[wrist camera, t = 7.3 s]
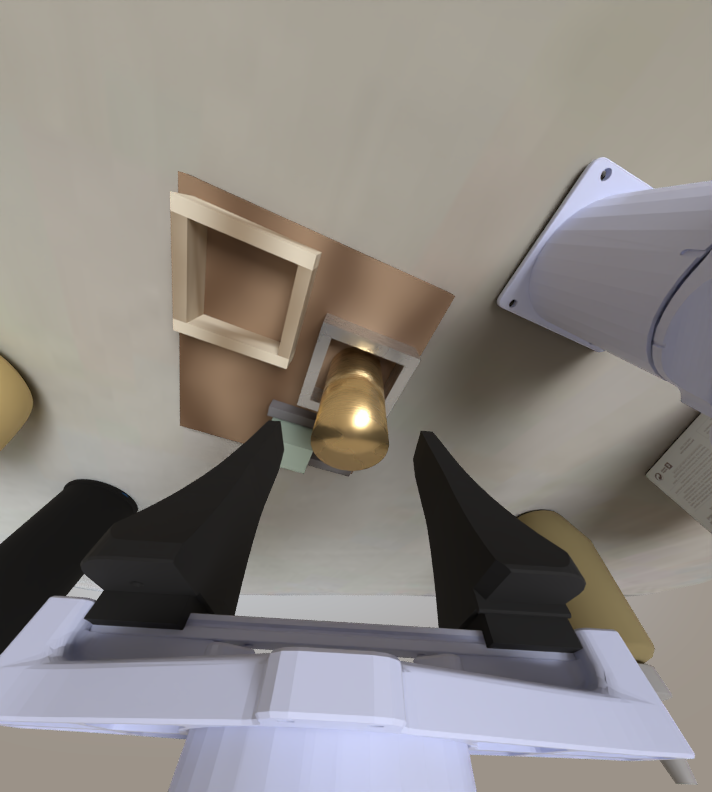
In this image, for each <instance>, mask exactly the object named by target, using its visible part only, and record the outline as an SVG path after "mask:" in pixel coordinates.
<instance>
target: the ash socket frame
mask: <svg viewBox="0 0 712 792" xmlns="http://www.w3.org/2000/svg"><path fill="white" fill-rule="evenodd" d="M170 213H171V258H172V302H173V330H174V331H177V332H180V333H183V334H186V335H189V336H192V337H195V338H198V339H200V340H203V341H206V342H209V343H212V344H215V345H218V346H221V347H224V348H227V349H229V350H232V351H235V352H238V353H241V354H244V355H247V356H250V357H253V358H255V359H258V360H261V361H264V362H267V363H270V364H273V365H276V366H279V367H282V368H284V369H287V367H288V366H289V364H290V362H291V360H292V359H293V357H294V353H295V349H296V346H297V342H298V338H299V335H300V331H301V327H302V324H303V320H304V316H305V313H306V309H307V305H308V302H309V298H310V294H311V291H312V287H313V283H314V280H315V276H316V272H317V269H318V265H319V261H320V258H321V254H322V252H320V251H317V250H315V249H313V248H310V247H308V246H306V245H304V244H301V243H299V242H297V241H295V240H292V239H290V238H288V237H285V236H283V235H281V234H279V233H276V232H274V231H272V230H270V229H267V228H265V227H263V226H260V225H258V224H256V223H254V222H251V221H249V220H247V219H245V218H242V217H240V216H238V215H235V214H233V213H231V212H229V211H226V210H224V209H222V208H220V207H217V206H215V205H213V204H211V203H208V202H206V201H204V200H201V199H199V198H197V197H195V196H191V195H186V194H181V193H176V192H171V191H170ZM208 227H211V228H213V229H215V230H218V231H220V232H222V233H225V234H227V235H229V236H232V237H234V238H237V239H239V240H241V241H244V242H246V243H248V244H251V245H253V246H255V247H258V248H260V249H262V250H265V251H267V252H270V253H272V254H274V255H277V256H279V257H281V258H284V259H286V260H288V261H291V262H293V263H295V264H298V268H297V273H296V277H295V281H294V286H293V290H292V294H291V299H290V303H289V307H288V312H287V316H286V320H285V324H284V329H283V333H282V337H281V342H279V341H276V340H273V339H270V338H268V337H265V336H262V335H259V334H256V333H254V332H251V331H248V330H245V329H243V328H240V327H237V326H234V325H232V324H229V323H226V322H223V321H221V320H218V319H215V318H212V317H210V316H207V315H204V294H205V272H206V250H207V228H208Z"/></svg>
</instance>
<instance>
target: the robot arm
mask: <svg viewBox="0 0 712 792" xmlns="http://www.w3.org/2000/svg"><path fill="white" fill-rule="evenodd" d="M604 170H605V171H606V175H605V177H604V179H603V180H602V181H601V179H600V176H601V174H602V172H603V171H604ZM512 300H514V301H515V302H514V304H513V305H512V306H509V303H510V302H511V301H512ZM497 304H498V306H500V307H501V308H503V309H505V310H508V311H510V312H512V313H514V314H516V315H518V316H521V317H523V318H525V319H527V320H529V321H531V322H534V323H536V324H538V325H540V326H542V327H544V328H547V329H549V330H551V331H553V332H555V333H558V334H560V335H562V336H564V337H566V338H568V339H571V340H573V341H575V342H577V343H579V344H581V345H584V346H586V347H588V348H590V349H592V350H594V351H597V352H603V351H607V352H609V353H611V354H613V355H615V356H617V357H619V358H621V359H623V360H625V361H627V362H629V363H631V364H633V365H635V366H637V367H639V368H641V369H643V370H645V371H647V372H649V373H651V374H653V375H655V376H657V377H659V378H661V379H663V380H665V381H668V382H670V383H671V384H673V385H675V386H676V387H678V388H679V390H680V392H681V402H682V403H684V404H686V405H688V406H690V407H692V408H693V409H695V410H697V411H699V412H701V413H703V414H704V415H706V416H708V417H710V418H712V180H711V181H704V182H697V183H690V184H683V185H676V186H669V187H662V188H655V189H654V188H652V187H651V186H649V185H648V184H646V183H645V182H643V181H642V180H640V179H638V178H637V177H635V176H634V175H632V174H631V173H629V172H628V171H626V170H625V169H623V168H621V167H620V166H618V165H617V164H615V163H614V162H612V161H611V160H609V159H608V158H605V157H602V158H598V159H595V160H593V161H592V162H590V163H589V164H588V166H587V167H586V168H585V170H584V171H583V173H582V174H581V176H580V177H579V179H578V180H577V182H576V183H575V184H574V186H573V187H572V189H571V190H570V192H569V193H568V195H567V196H566V198H565V199H564V201H563V202H562V204H561V205H560V207H559V208H558V210H557V211H556V213H555V214H554V215H553V217H552V218H551V220H550V221H549V223H548V224H547V226H546V227H545V229H544V230H543V232H542V233H541V235H540V236H539V238H538V239H537V241H536V242H535V244H534V245H533V247H532V248H531V249H530V251H529V252H528V254H527V255H526V257H525V258H524V260H523V261H522V263H521V264H520V266H519V267H518V269H517V270H516V272H515V273H514V275H513V276H512V278H511V279H510V280H509V282H508V283H507V285H506V286H505V288H504V289H503V291H502V292H501V294H500V295H499V297H498V299H497ZM709 436H710V443H711V445H712V425H711V428H710V431H709ZM283 453H284V443H283V435H282V427H281V421H272V420H269V421H267V422H266V423H265V424H264V425H263V426H262V427H261V428H260V429H259V430H258V431H257V432H256V433H255V434H254V435H253V436H251V437H250V438H249V439H248V440H247V441H246V442H245V443H244V444H243V445H242V446H241V447H239V448H238V449H237V450H236V451H235V452H234V453H232V454H231V455H230V456H229V457H227V458H226V459H225V460H224V461H223V462H221V463H220V464H219V465H217V466H216V467H215V468H213V469H212V470H211V471H209V472H208V473H206V474H205V475H203V476H202V477H200V478H199V479H197V480H196V481H194V482H192V483H191V484H189V485H187V486H186V487H184V488H183V489H181V490H179V491H178V492H176V493H174V494H172V495H171V496H169V497H167V498H165V499H163V500H161V501H159V502H158V503H156V504H154V505H152V506H150V507H148V508H146V509H144V510H142V511H139V512H137V513H135V514H133V515H131V516H129V517H127V518H125V519H122V520H120V521H118V522H116V523H114V524H113V525H112V526H111V527H110V528H109V529H108V531H107V532H106V533H105V534H104V535H103V536H102V538H101V539H100V540H99V541H98V542H97V543H96V545H95V546H94V547H93V548H92V549H91V550H90V552H89V553H88V554H87V555H86V556H85V557H84V559H83V560H82V561H81V563H80V566H81V570H82V572H83V573H84V574H85V575H86V576H87V577H89V578H90V579H91V580H92V581H93V582H95V583H96V584H97V585H98V586H100V587H101V588H102V589H103V590H104V591H103V592H102V594H101V595H100V596H99V598H98V599H97V601H96V600H93V599H90V598H83V597H69V596H52V597H50V598H49V599H48V600H47V601H46V603H45V604H44V605H43V606H42V607H41V608H40V610H39V611H38V612H37V613H36V614H35V615H34V617H33V618H32V619H31V620H30V621H29V622H28V624H27V625H26V626H25V627H24V628H23V629H22V631H21V632H20V633H19V634H18V635H17V636H16V638H15V639H14V640H13V641H12V642H11V643H10V644H9V646H8V647H7V648H6V649H5V650H4V651H3V653H2V654H1V655H0V726H8V727H14V728H29V729H45V730H63V731H77V732H92V733H107V734H121V735H134V736H135V735H136V736H148V737H161V738H176V739H186V741H185V744H184V747H183V750H182V753H181V755H180V758H179V761H178V764H177V767H176V770H175V773H174V776H173V778H172V781H171V784H170V787H169V790H168V792H477V790H476V786H475V781H474V775H473V770H472V765H471V761H470V755H497V756H499V755H501V756H527V757H554V758H578V759H602V760H621V761H645V760H672V759H694V757H695V754H694V752H693V751H692V749H691V747H690V746H689V744H688V743H687V741H686V740H685V738H684V736H683V735H682V733H681V732H680V730H679V728H678V727H677V725H676V724H675V722H674V721H673V719H672V717H671V716H670V714H669V713H668V711H667V709H666V708H665V706H664V705H663V703H662V701H661V700H660V698H659V697H658V695H657V693H656V692H655V690H654V689H653V687H652V686H651V684H650V682H649V681H648V679H647V678H646V676H645V674H644V673H643V671H642V670H641V668H640V666H639V665H638V663H637V662H636V660H635V659H634V657H633V655H632V654H631V652H630V651H629V649H628V647H627V646H626V644H625V643H624V641H623V640H622V638H621V636H620V635H619V633H618V632H617V631H615V630H613V629H596V628H578V629H574V630H573V628H572V626H571V624H570V622H569V620H568V619H570V618H571V613H570V611H569V609H568V607H567V605H566V603H568V602H569V601H570V600H572V599H573V598H575V597H576V596H578V595H579V594H580V593H581V592H582V591H583V590H584V588H585V586H586V582H585V579H584V578H583V576H582V574H581V573H580V571H579V570H578V568H577V566H576V565H575V563H574V562H573V560H572V559H571V557H570V556H569V554H568V553H567V552H566V551H565V550H563V549H561V548H560V547H558V546H557V545H555V544H554V543H552V542H551V541H549V540H548V539H546V538H545V537H543V536H541V535H540V534H538V533H537V532H536V531H534V530H533V529H531V528H530V527H529V526H527V525H526V524H524V523H523V522H522V521H520V520H519V519H518V518H516V517H515V516H514V515H512V514H511V513H510V512H509V511H507V510H506V509H505V508H504V507H503V506H501V505H500V504H499V503H498V502H497V501H495V500H494V499H493V498H492V497H491V496H490V495H489V494H488V493H486V492H485V491H484V490H483V489H482V488H481V487H480V486H479V485H478V484H477V483H476V482H475V481H474V480H473V479H472V478H471V477H470V476H469V475H468V474H467V473H466V472H465V471H464V469H463V468H462V467H461V466H460V465H459V464H458V463H457V461H456V460H455V459H454V458H453V457H452V455H451V454H450V453H449V452H448V451H447V449H446V448H445V447H444V445H443V444H442V443H441V442H440V440H439V439H438V438H437V436H436V435H435V434H434V433H433V432H429V431H421V433H420V436H419V440H418V443H417V447H416V450H415V454H414V458H413V462H414V471H415V478H416V482H417V486H418V490H419V494H420V498H421V502H422V507H423V511H424V515H425V519H426V524H427V529H428V535H429V542H430V549H431V557H432V565H433V573H434V582H435V591H436V602H437V613H438V625H439V628H430V627H413V626H396V625H380V624H364V623H347V622H331V621H313V620H298V619H297V620H296V619H280V618H264V617H247V616H235V611H236V607H237V603H238V598H239V594H240V590H241V586H242V581H243V578H244V574H245V570H246V566H247V562H248V558H249V554H250V551H251V547H252V544H253V540H254V536H255V533H256V530H257V526H258V523H259V520H260V516H261V514H262V511H263V508H264V505H265V503H266V501H267V498H268V496H269V493H270V491H271V488H272V486H273V483H274V481H275V478H276V476H277V473H278V471H279V468H280V465H281V461H282V457H283ZM253 649H266V650H273V651H272V652H271V653H262V654H255V652H254V650H253ZM397 657H403V658H415V659H414V661H413V662H414V663H411V662H405V661H400V660H399V659H398V658H397Z"/></svg>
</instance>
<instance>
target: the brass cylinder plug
mask: <svg viewBox="0 0 712 792" xmlns="http://www.w3.org/2000/svg"><path fill="white" fill-rule="evenodd" d="M311 447H312V450H313V452H314V453H315V455H316V456H317V457H318V458H319V459H320V460H321V461H322V462H324V463H325V464H327V465H329V466H331V467H333V468H336V469H340V470H347V471H357V470H363V469H367V468H370V467H372V466H374V465H376V464H377V463H379V462H380V461H381V460H382V459H383V458H384V457H385V455H386V453H387V451H388V447H389V439H388V429H387V419H386V409H385V399H384V389H383V379H382V369H381V364H380V361H379V359H378V358H377V356H376V355H375V354H372V353H369V352H367V351H364V350H361V349H359V348H356V347H348V348H345V349H343V350H341V351H339V352H338V353H337V354H336V355H335V356H334V358H333V359H332V361H331V365H330V368H329V372H328V376H327V379H326V383H325V387H324V390H323V394H322V398H321V401H320V405H319V409H318V413H317V416H316V420H315V424H314V427H313V431H312V435H311Z"/></svg>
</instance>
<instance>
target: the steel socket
mask: <svg viewBox="0 0 712 792" xmlns="http://www.w3.org/2000/svg"><path fill="white" fill-rule="evenodd" d="M331 338H332V339H335V340H338V341H340V342H343V343H346V344H348V345H351V346H354V347H356V348H359V349H361V350H364V351H367V352H369V353H372V354H375V355H377V356H380V357H382V358H385V359H388V360H390V361H393V362H396V364H395V366H394V368H393V370H392V372H391V373H390V375H389V377H388V379H387V381H386V383H385V385H384V387H383V389H384V399H385V409H386V418H387V417H388V415H389V413H390V412H391V410H392V408H393V406H394V405H395V403H396V401H397V400H398V398H399V396H400V395H401V393H402V391H403V389H404V388H405V386H406V384H407V383H408V381H409V379H410V378H411V376H412V374H413V373H414V371H415V369H416V367H417V366H418V364H419V362H420V361H421V359H420V357H419V354H418V352H417V350H416V348H414V347H412V346H409V345H407V344H404V343H402V342H399V341H397V340H394V339H392V338H389V337H387V336H384V335H382V334H379V333H377V332H374V331H372V330H369V329H367V328H364V327H361V326H359V325H356V324H354V323H351V322H349V321H346V320H344V319H341V318H339V317H336V316H334V315H331V314H329V313H327V315H326V317H325V319H324V321H323V324H322V327H321V330H320V334H319V337H318V340H317V343H316V346H315V349H314V352H313V356H312V359H311V362H310V365H309V368H308V371H307V374H306V378H305V381H304V384H303V387H302V390H301V393H300V396H299V400H298V403H297V405H299V406H302V407H305V408H308V409H311V410H314V411H317V412H318V409H319V405H320V401H321V398H322V394H323V390H324V389H321V388H318V387H315V384H316V381H317V378H318V375H319V372H320V370H321V367H322V364H323V361H324V358H325V355H326V352H327V350H328V347H329V344H330V341H331Z"/></svg>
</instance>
